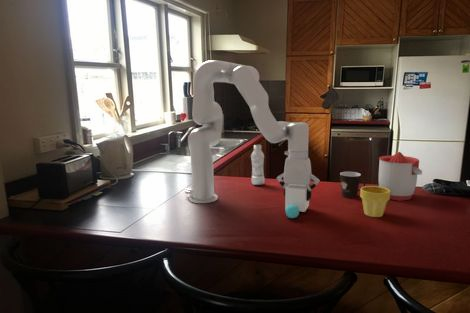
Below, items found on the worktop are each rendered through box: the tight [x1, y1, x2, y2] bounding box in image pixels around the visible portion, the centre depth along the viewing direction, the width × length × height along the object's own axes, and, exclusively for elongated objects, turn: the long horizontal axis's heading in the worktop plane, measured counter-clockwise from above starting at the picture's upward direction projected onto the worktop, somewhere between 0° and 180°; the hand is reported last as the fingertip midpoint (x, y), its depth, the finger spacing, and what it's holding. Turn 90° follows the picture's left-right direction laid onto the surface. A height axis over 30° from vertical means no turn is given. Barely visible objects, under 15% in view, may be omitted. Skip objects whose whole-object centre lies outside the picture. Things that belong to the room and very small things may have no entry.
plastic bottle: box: [250, 144, 266, 186], centre depth 177 cm, size 6×7×20 cm
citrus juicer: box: [378, 151, 423, 202], centre depth 153 cm, size 16×17×20 cm
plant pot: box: [359, 185, 390, 218], centre depth 135 cm, size 10×10×10 cm
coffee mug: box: [339, 171, 366, 199], centre depth 156 cm, size 12×9×10 cm
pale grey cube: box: [284, 184, 310, 213], centre depth 140 cm, size 8×8×9 cm
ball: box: [285, 205, 300, 219], centre depth 133 cm, size 5×5×5 cm
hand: (297, 198), depth 140 cm, fingers closed on pale grey cube, 7 cm apart
